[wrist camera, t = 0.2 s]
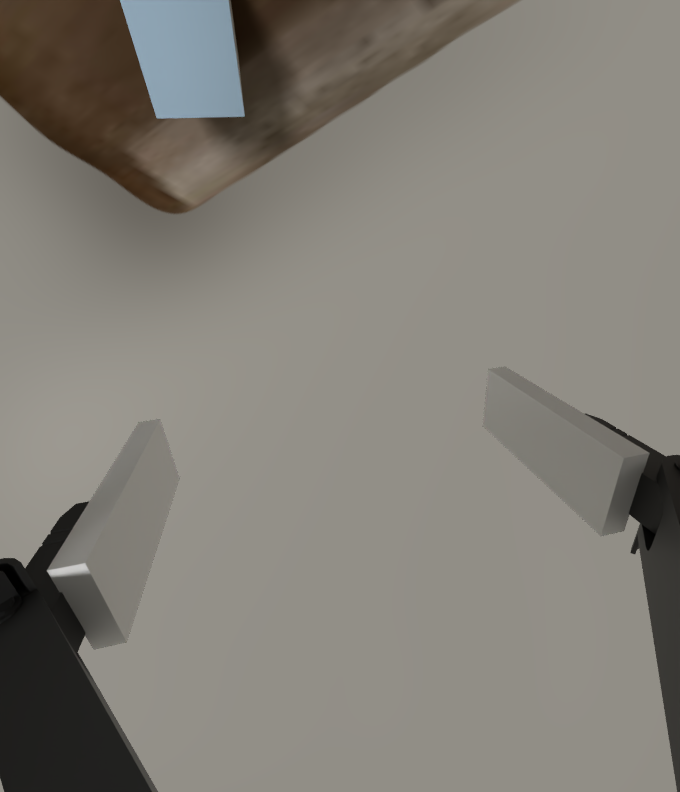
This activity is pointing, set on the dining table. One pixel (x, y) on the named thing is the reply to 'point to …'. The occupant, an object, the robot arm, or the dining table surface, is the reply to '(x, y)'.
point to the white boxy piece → (187, 56)
